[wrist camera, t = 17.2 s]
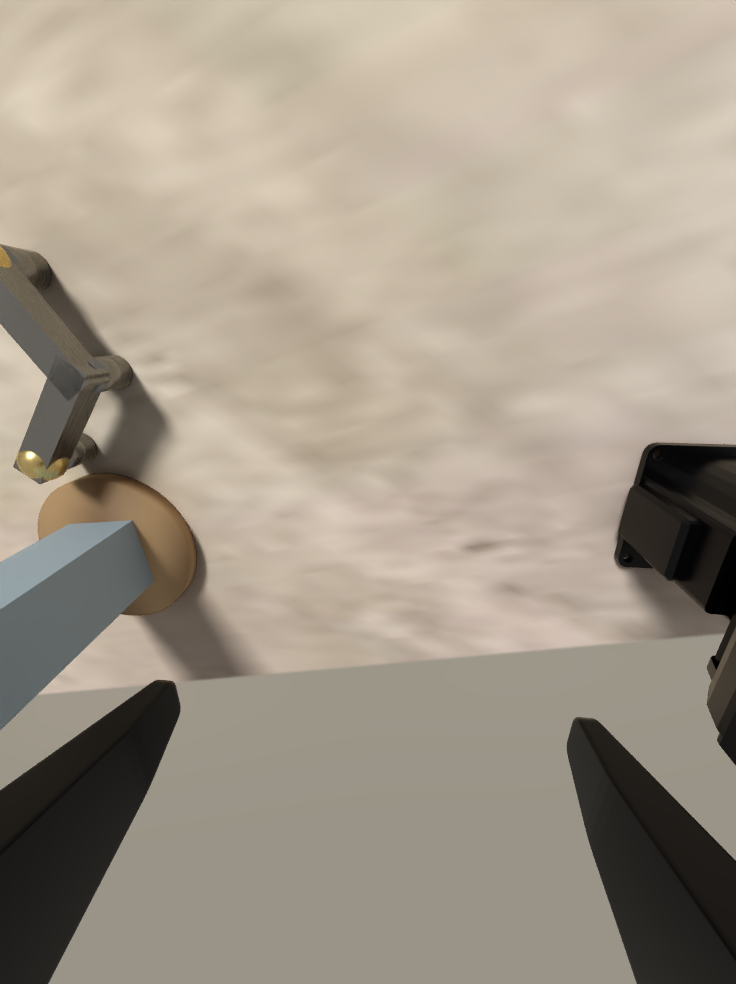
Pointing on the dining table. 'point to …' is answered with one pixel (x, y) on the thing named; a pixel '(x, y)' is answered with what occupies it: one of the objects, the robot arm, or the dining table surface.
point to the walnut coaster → (153, 522)
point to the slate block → (63, 602)
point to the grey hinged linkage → (53, 370)
